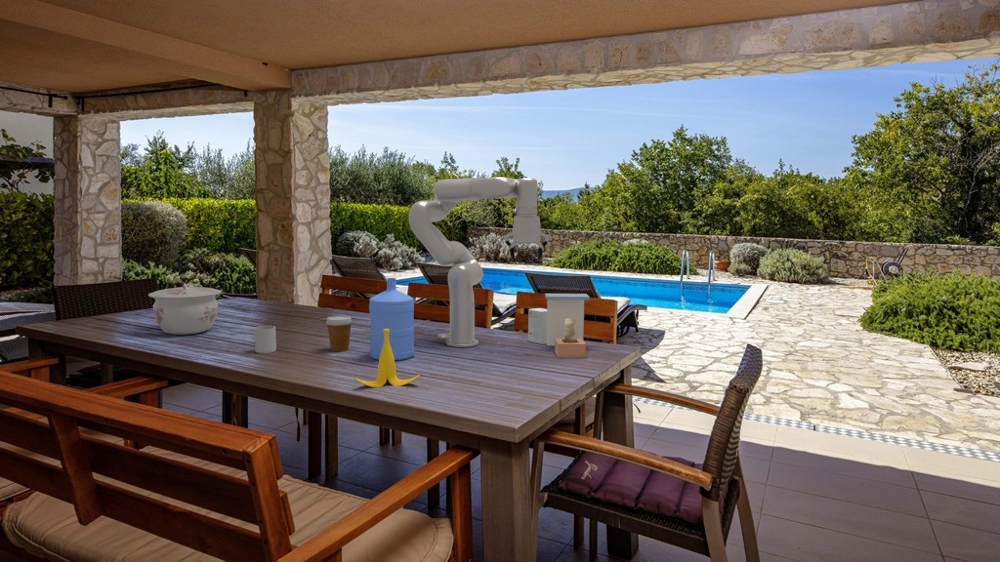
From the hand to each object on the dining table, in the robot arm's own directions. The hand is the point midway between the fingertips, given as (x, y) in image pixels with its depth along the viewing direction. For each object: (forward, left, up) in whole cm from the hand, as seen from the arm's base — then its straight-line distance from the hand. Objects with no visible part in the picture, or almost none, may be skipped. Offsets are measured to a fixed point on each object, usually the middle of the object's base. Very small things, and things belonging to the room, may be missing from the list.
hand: (526, 258), depth 234 cm
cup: (-95, -3, -34) cm, 101 cm away
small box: (+7, +15, -34) cm, 38 cm away
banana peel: (-42, -46, -35) cm, 71 cm away
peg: (+16, -7, -33) cm, 38 cm away
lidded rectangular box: (+16, +6, -34) cm, 38 cm away
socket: (+16, -7, -34) cm, 38 cm away
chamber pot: (-140, +31, -34) cm, 148 cm away
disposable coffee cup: (-69, -1, -34) cm, 77 cm away
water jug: (-48, -11, -34) cm, 60 cm away
